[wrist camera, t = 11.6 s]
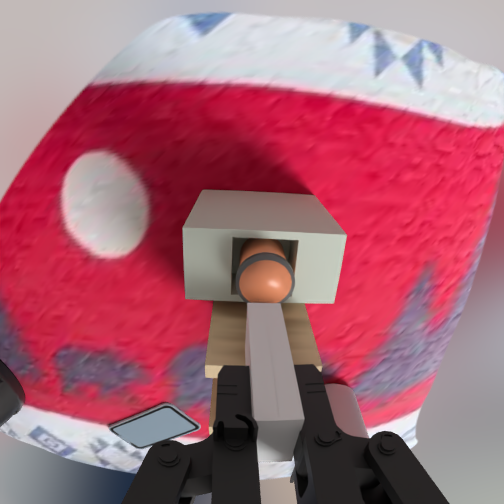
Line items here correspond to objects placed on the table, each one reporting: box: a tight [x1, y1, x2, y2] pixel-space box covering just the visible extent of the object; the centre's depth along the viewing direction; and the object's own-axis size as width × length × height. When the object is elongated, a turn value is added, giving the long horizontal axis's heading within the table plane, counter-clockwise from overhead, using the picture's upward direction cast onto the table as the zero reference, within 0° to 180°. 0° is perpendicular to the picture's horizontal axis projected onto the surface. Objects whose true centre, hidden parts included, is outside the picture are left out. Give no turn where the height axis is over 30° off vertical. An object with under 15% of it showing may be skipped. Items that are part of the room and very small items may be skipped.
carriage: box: [205, 300, 322, 435], centre depth 25 cm, size 7×7×14 cm
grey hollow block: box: [183, 190, 347, 303], centre depth 25 cm, size 10×5×10 cm, turn 87°
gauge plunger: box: [236, 238, 295, 304], centre depth 20 cm, size 3×3×4 cm
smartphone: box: [109, 403, 201, 449], centre depth 42 cm, size 7×1×15 cm
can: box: [325, 383, 369, 438], centre depth 34 cm, size 8×8×12 cm
